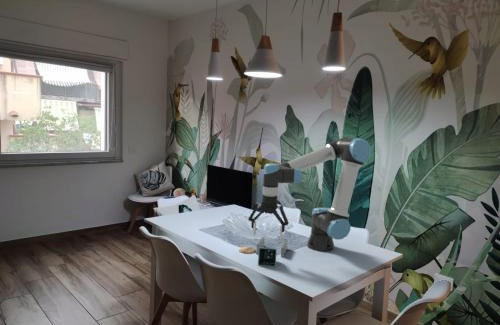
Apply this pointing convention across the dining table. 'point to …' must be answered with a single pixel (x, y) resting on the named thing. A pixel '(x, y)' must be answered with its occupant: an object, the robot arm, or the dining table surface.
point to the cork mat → (247, 250)
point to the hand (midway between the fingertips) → (267, 236)
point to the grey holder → (261, 244)
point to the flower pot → (264, 257)
